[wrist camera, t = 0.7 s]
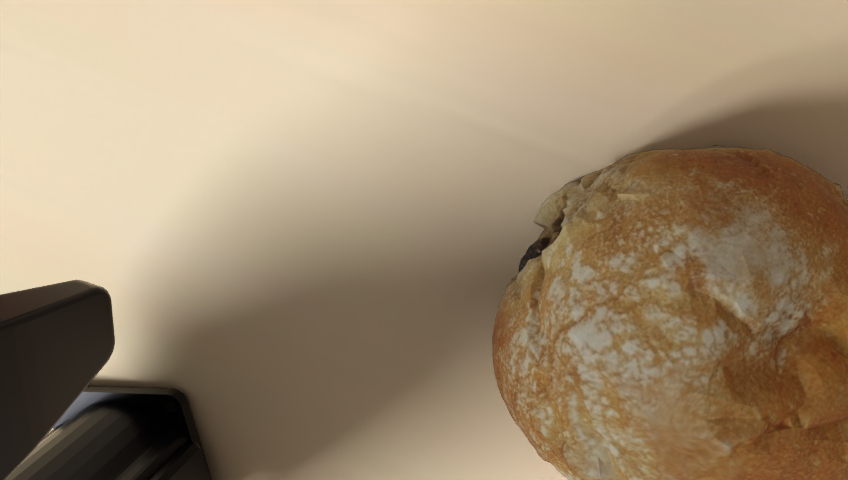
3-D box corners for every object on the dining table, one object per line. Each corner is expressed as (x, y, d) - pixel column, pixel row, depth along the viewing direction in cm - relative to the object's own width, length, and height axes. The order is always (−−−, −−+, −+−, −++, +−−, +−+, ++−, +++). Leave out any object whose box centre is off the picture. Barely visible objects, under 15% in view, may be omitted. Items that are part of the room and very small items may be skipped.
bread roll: (675, 75, 23) (516, 70, 17) (1057, 265, 18) (1015, 354, 12) (546, 338, 27) (385, 406, 22) (820, 554, 22) (705, 721, 16)
